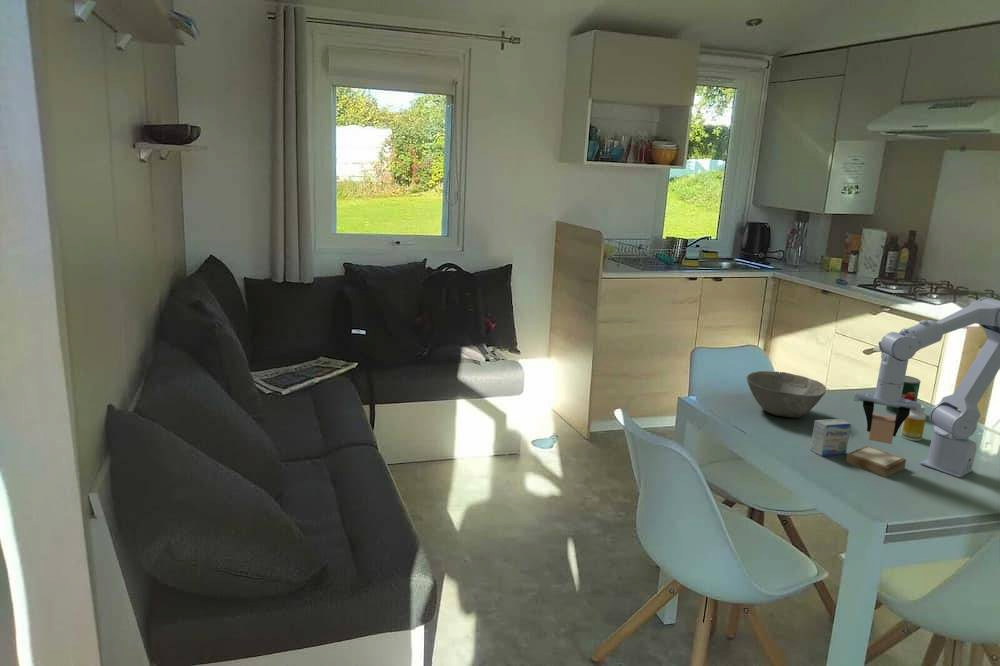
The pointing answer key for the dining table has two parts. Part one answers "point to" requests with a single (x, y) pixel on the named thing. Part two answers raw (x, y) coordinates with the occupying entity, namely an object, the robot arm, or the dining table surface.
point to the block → (882, 428)
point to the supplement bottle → (914, 425)
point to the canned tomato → (907, 392)
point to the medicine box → (830, 437)
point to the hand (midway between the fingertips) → (881, 432)
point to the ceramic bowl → (785, 392)
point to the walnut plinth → (876, 461)
